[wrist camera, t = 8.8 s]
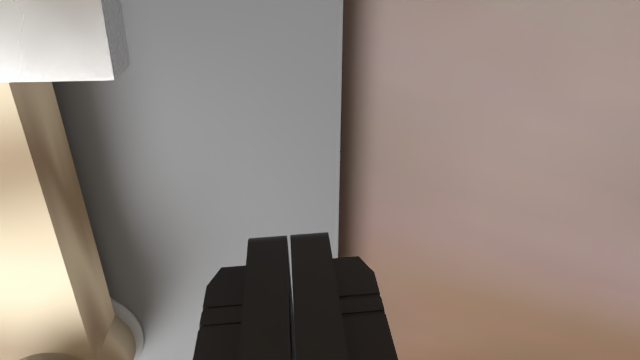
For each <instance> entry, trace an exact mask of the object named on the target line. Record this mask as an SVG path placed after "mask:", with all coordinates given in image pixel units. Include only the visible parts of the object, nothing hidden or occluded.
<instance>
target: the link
mask: <svg viewBox="0 0 640 360" xmlns="http://www.w3.org/2000/svg"><path fill="white" fill-rule="evenodd" d="M135 353H136V342H135V338H134V335H133V333H132V332H131V330H130V328H129V327H128V326H127V325H126V324H125V322H124V321H122V320H121V319H120V318H119V317H118V316H116V315H115V313H114V310H113V306H112V302H111V299H110V295H109V291H108V288H107V284H106V280H105V276H104V273H103V269H102V265H101V262H100V258H99V254H98V251H97V247H96V243H95V240H94V236H93V232H92V229H91V225H90V221H89V218H88V214H87V210H86V207H85V203H84V199H83V196H82V192H81V188H80V185H79V181H78V177H77V173H76V170H75V166H74V162H73V159H72V155H71V151H70V148H69V144H68V140H67V137H66V133H65V129H64V126H63V122H62V118H61V115H60V111H59V107H58V104H57V100H56V96H55V93H54V89H53V85H52V82H4V83H0V360H134V357H135Z"/></svg>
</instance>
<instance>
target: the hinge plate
mask: <svg viewBox="0 0 640 360" xmlns="http://www.w3.org/2000/svg"><path fill="white" fill-rule="evenodd" d="M121 6H122V13H123V19H124V26H125V32H126V39H127V45H128V52H129V58H130V66H129V67H128V68H127V69H126V70H125V71H124V72H122V73H121V74H120V75H119V76H118V77H117V78H116V79H115V80H108V81H56V82H52V85H53V89H54V93H55V96H56V100H57V104H58V107H59V111H60V115H61V118H62V122H63V126H64V129H65V133H66V137H67V140H68V144H69V148H70V151H71V155H72V159H73V162H74V166H75V170H76V173H77V177H78V181H79V185H80V188H81V192H82V196H83V199H84V203H85V207H86V210H87V214H88V218H89V221H90V225H91V229H92V232H93V236H94V240H95V243H96V247H97V251H98V254H99V258H100V262H101V265H102V269H103V273H104V276H105V280H106V284H107V288H108V291H109V295H110V299H111V302H112V306H113V310H114V313H115V315H116V316H118V317H119V318H120V319H121V320H122V321H124V322H125V324H126V325H127V326H128V327H129V328H130V330H131V332H132V333H133V335H134V338H135V342H136V353H135V357H134V360H193V356H194V350H195V345H196V340H197V334H198V330H199V324H200V318H201V313H202V312H203V302H204V297H205V292H206V286H207V285H208V284H209V282H210V281H211V280H212V279H213V277H214V276H215V275H216V274H217V272H218V271H219V270H220V268H221V267H232V266H245V265H246V258H247V246H248V239H249V238H259V237H272V236H286V235H287V240H288V251H289V263H290V275H291V287H292V265H291V242H290V235H297V234H310V233H323V232H328V234H329V239H330V245H331V251H332V257H333V258H338V229H339V180H340V132H341V84H342V36H343V0H121ZM292 299H293V288H292ZM293 312H294V310H293Z"/></svg>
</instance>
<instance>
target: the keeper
mask: <svg viewBox="0 0 640 360" xmlns="http://www.w3.org/2000/svg"><path fill="white" fill-rule="evenodd" d="M129 66H130V58H129V52H128V45H127V39H126V32H125V26H124V19H123V13H122V6H121V0H0V83H4V82H56V81H108V80H115V79H116V78H117V77H118V76H119V75H120V74H121V73H122V72H124V71H125V70H126V69H127V68H128V67H129Z"/></svg>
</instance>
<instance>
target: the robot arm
mask: <svg viewBox="0 0 640 360" xmlns="http://www.w3.org/2000/svg"><path fill="white" fill-rule="evenodd" d="M290 242H291V265H292V287H291V275H290V263H289V251H288V240H287V235H286V236H272V237H259V238H249V239H248V246H247V258H246V265H245V266H232V267H221V268H220V270H219V271H218V272H217V274H216V275H215V276H214V277H213V279H212V280H211V281H210V282H209V284H208V285H207V286H206V292H205V297H204V302H203V312H202V313H201V318H200V324H199V330H198V334H197V340H196V345H195V350H194V356H193V360H398V358H397V354H396V350H395V347H394V343H393V340H392V336H391V332H390V329H389V325H388V321H387V318H386V314H385V312H384V307H383V303H382V299H381V297H380V292H379V288H378V285H377V281H376V277H375V274H374V272H373V271H372V270H371V269H370V268H369V267H368V266H367V265H366V264H365V263H364V262H363V261H362V260H361V259H360V258H359V257H358V256H357V257H344V258H333V257H332V251H331V245H330V239H329V234H328V232H323V233H310V234H297V235H290ZM292 288H293V299H292ZM293 310H294V312H293Z"/></svg>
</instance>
